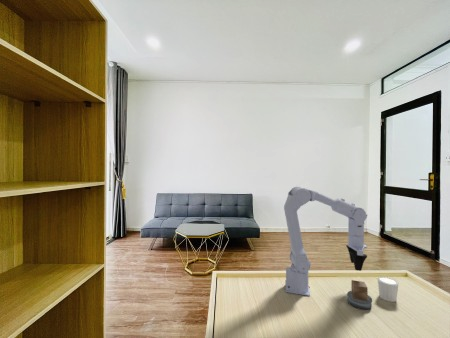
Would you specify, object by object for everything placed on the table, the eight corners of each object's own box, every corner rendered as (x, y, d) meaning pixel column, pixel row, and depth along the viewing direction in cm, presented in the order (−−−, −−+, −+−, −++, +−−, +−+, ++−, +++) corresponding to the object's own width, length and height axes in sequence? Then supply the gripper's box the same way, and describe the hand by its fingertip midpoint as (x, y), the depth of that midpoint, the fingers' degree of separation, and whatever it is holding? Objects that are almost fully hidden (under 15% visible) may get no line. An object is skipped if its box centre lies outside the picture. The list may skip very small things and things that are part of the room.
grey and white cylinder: (402, 303, 87) (402, 285, 87) (382, 301, 88) (382, 283, 88) (392, 294, 94) (392, 277, 94) (374, 292, 95) (374, 275, 95)
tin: (349, 308, 85) (349, 300, 85) (345, 296, 92) (345, 289, 92) (374, 313, 82) (374, 305, 82) (369, 300, 90) (369, 293, 90)
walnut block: (354, 298, 86) (354, 285, 86) (351, 292, 90) (351, 280, 90) (367, 300, 84) (367, 287, 84) (364, 294, 89) (364, 281, 89)
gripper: (372, 240, 88) (371, 275, 88) (362, 230, 102) (362, 260, 102) (351, 238, 90) (351, 272, 90) (344, 229, 104) (344, 258, 104)
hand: (355, 266), depth 96 cm, fingers open, 7 cm apart
